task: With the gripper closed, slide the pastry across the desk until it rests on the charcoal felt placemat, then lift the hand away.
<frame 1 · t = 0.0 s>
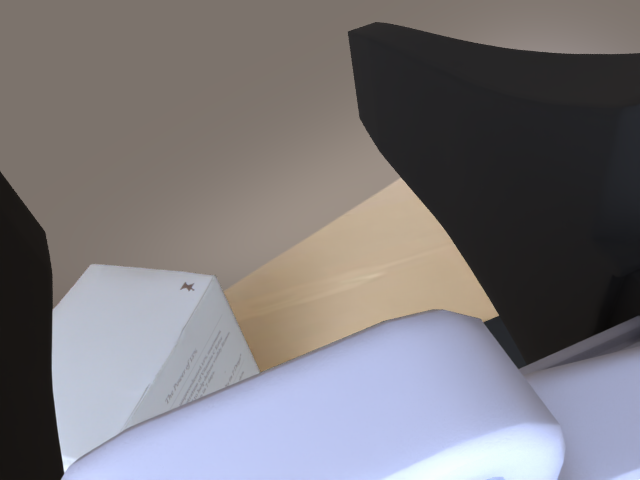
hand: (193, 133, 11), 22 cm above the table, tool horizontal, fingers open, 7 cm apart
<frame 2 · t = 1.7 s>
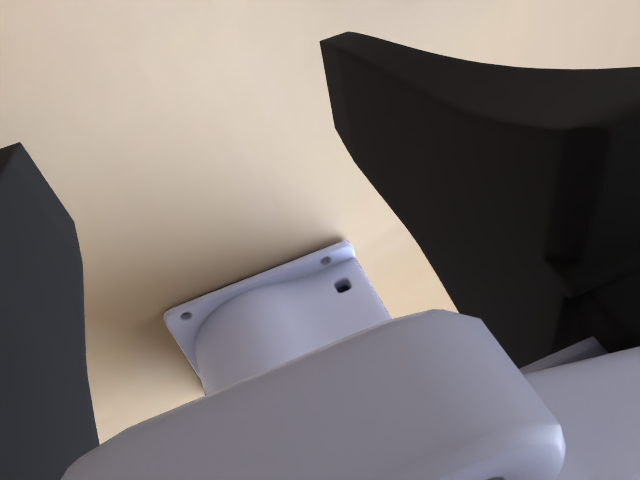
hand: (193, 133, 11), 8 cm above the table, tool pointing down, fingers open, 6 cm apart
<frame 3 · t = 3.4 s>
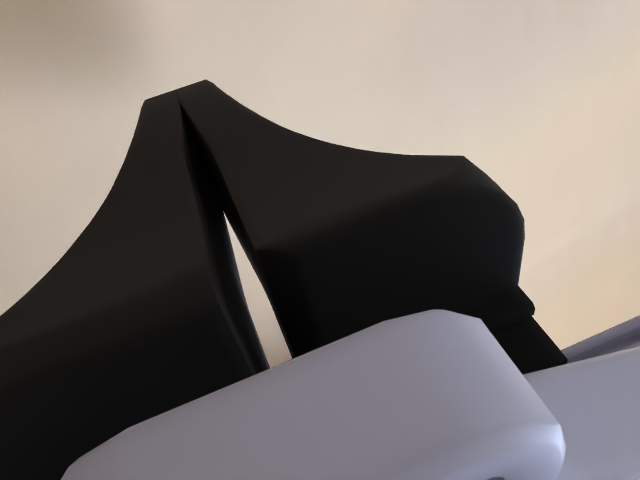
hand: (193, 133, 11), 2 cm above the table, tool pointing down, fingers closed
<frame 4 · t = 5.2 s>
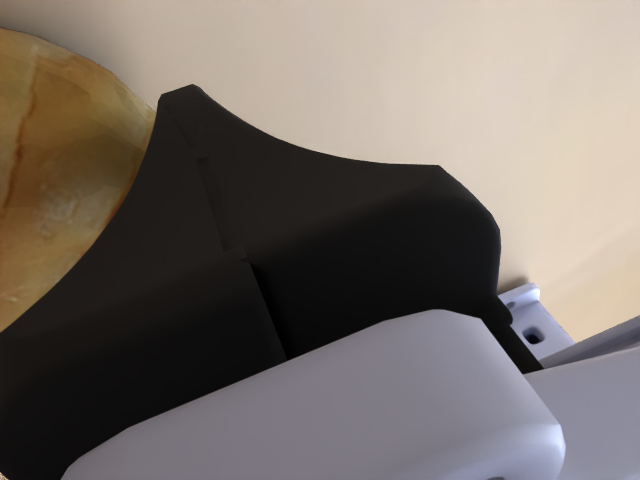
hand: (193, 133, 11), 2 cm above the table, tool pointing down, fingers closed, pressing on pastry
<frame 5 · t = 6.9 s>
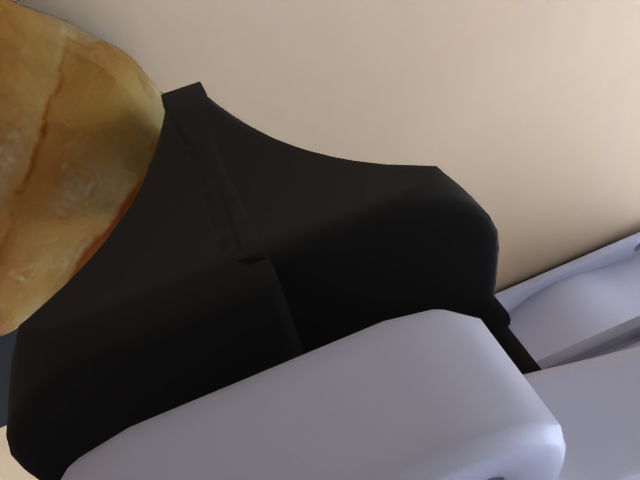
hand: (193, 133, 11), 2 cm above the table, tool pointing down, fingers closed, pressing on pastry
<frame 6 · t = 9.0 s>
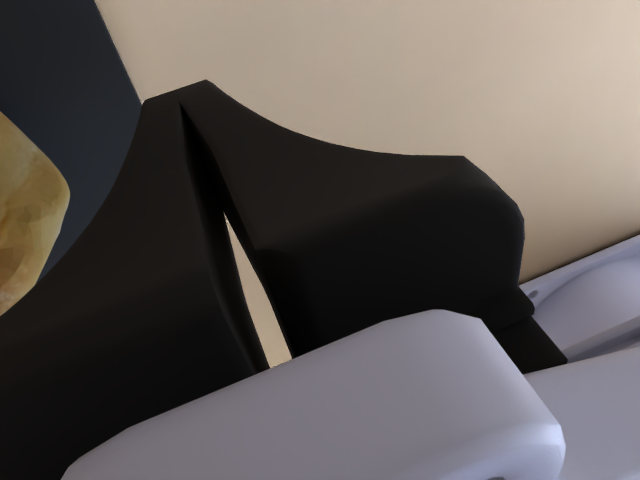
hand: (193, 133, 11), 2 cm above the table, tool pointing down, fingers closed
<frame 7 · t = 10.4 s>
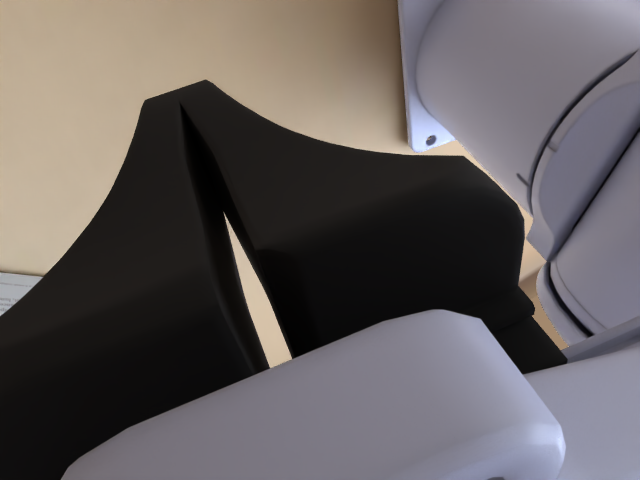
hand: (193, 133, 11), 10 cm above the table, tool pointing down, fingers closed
small box: (18, 318, 26), on the table
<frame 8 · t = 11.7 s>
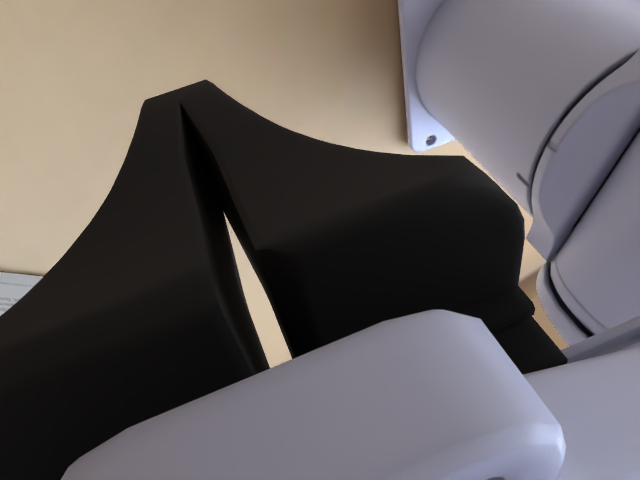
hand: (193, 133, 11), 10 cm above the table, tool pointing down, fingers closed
small box: (17, 318, 26), on the table
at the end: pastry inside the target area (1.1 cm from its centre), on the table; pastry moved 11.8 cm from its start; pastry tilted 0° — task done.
